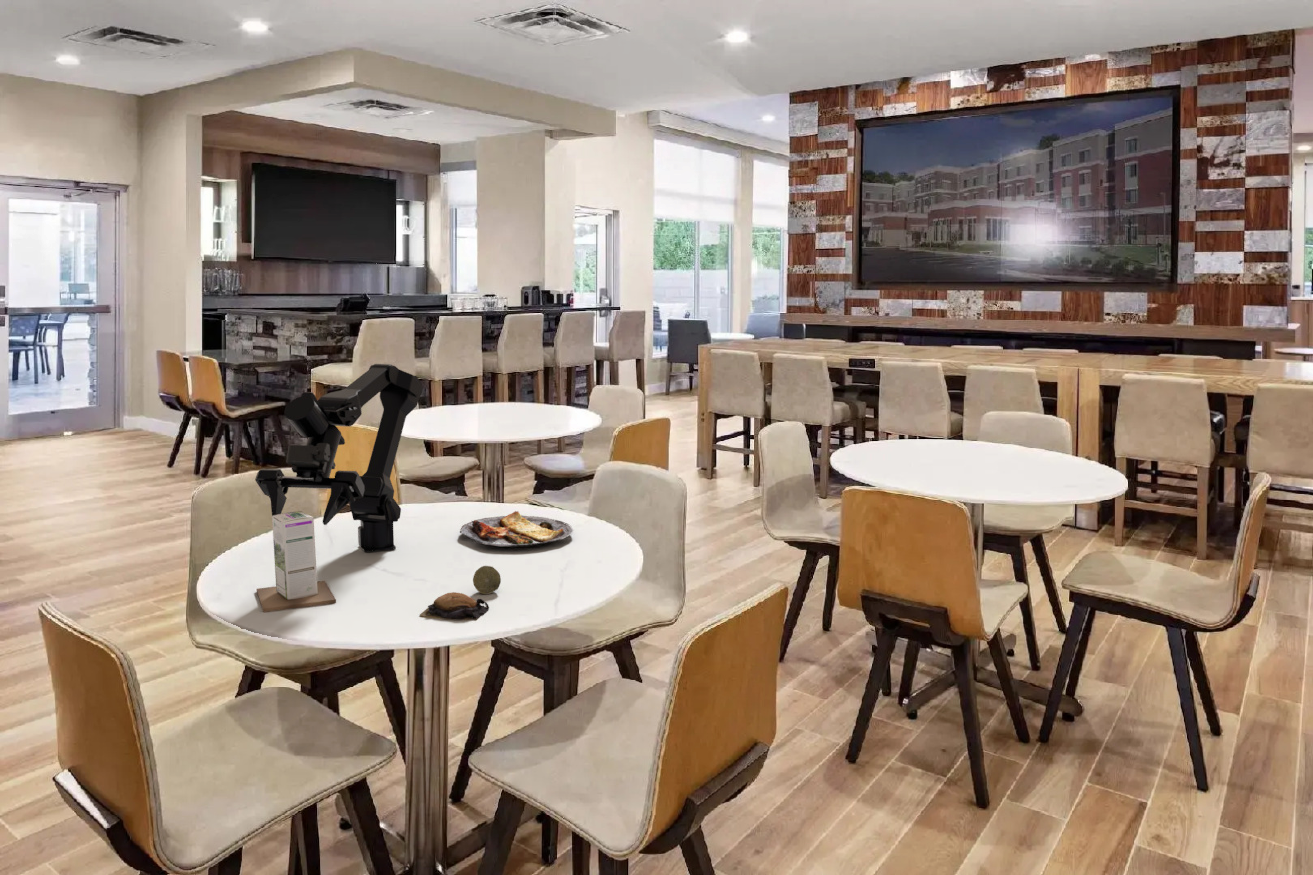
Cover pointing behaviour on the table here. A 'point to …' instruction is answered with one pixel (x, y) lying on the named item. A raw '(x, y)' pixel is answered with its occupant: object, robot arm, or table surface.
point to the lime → (486, 579)
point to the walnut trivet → (277, 602)
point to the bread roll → (455, 607)
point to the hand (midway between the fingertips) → (299, 523)
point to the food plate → (516, 530)
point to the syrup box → (294, 555)
